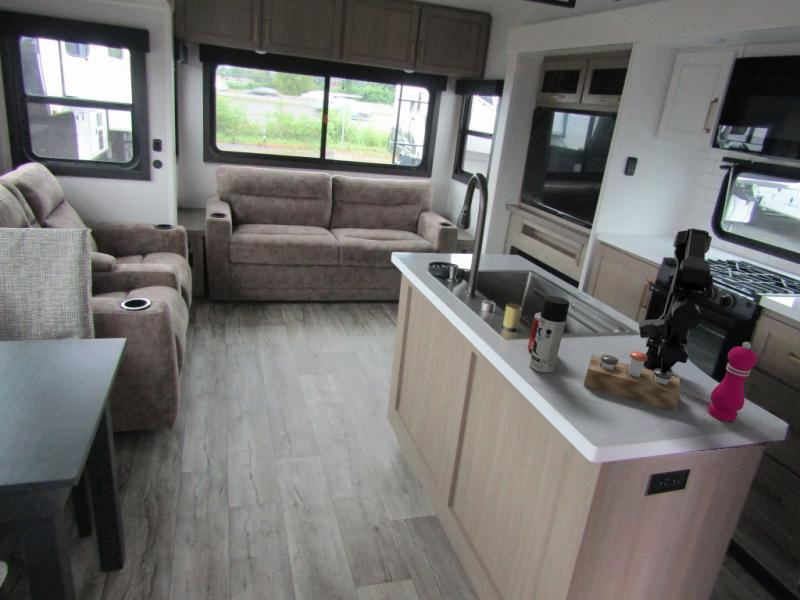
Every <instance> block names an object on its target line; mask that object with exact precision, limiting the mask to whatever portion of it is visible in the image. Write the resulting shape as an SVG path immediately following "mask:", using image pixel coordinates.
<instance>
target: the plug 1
mask: <svg viewBox="0 0 800 600" xmlns="http://www.w3.org/2000/svg"><path fill="white" fill-rule="evenodd" d="M600 357H601V361H602V365H601V367H603V368H606V369H610V370H613V369H614V365H616V364H617V363H618V362H619V359H618V358H617V357H616V356H613V355H609V354H602V355H601V356H600Z"/></svg>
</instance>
